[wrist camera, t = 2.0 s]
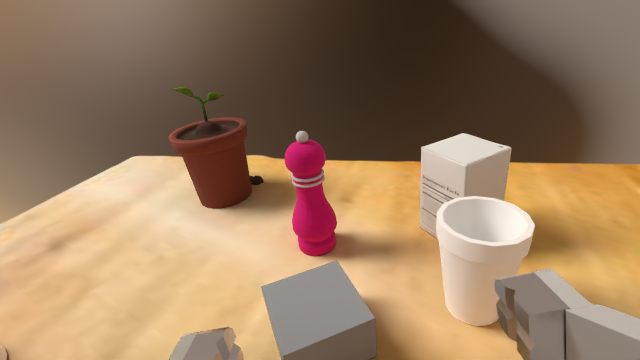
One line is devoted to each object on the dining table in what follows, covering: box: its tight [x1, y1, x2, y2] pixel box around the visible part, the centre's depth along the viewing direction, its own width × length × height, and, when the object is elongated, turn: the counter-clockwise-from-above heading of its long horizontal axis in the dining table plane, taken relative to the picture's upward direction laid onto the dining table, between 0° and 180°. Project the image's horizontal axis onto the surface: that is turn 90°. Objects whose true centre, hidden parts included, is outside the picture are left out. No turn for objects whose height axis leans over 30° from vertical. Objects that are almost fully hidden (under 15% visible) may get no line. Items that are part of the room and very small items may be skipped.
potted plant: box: [169, 87, 263, 209], centre depth 73 cm, size 18×22×25 cm
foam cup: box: [436, 196, 535, 326], centre depth 38 cm, size 10×9×13 cm
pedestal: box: [261, 261, 377, 360], centre depth 38 cm, size 10×10×6 cm
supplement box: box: [420, 133, 511, 238], centre depth 51 cm, size 9×9×15 cm
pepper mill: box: [285, 131, 337, 256], centre depth 51 cm, size 7×7×20 cm
